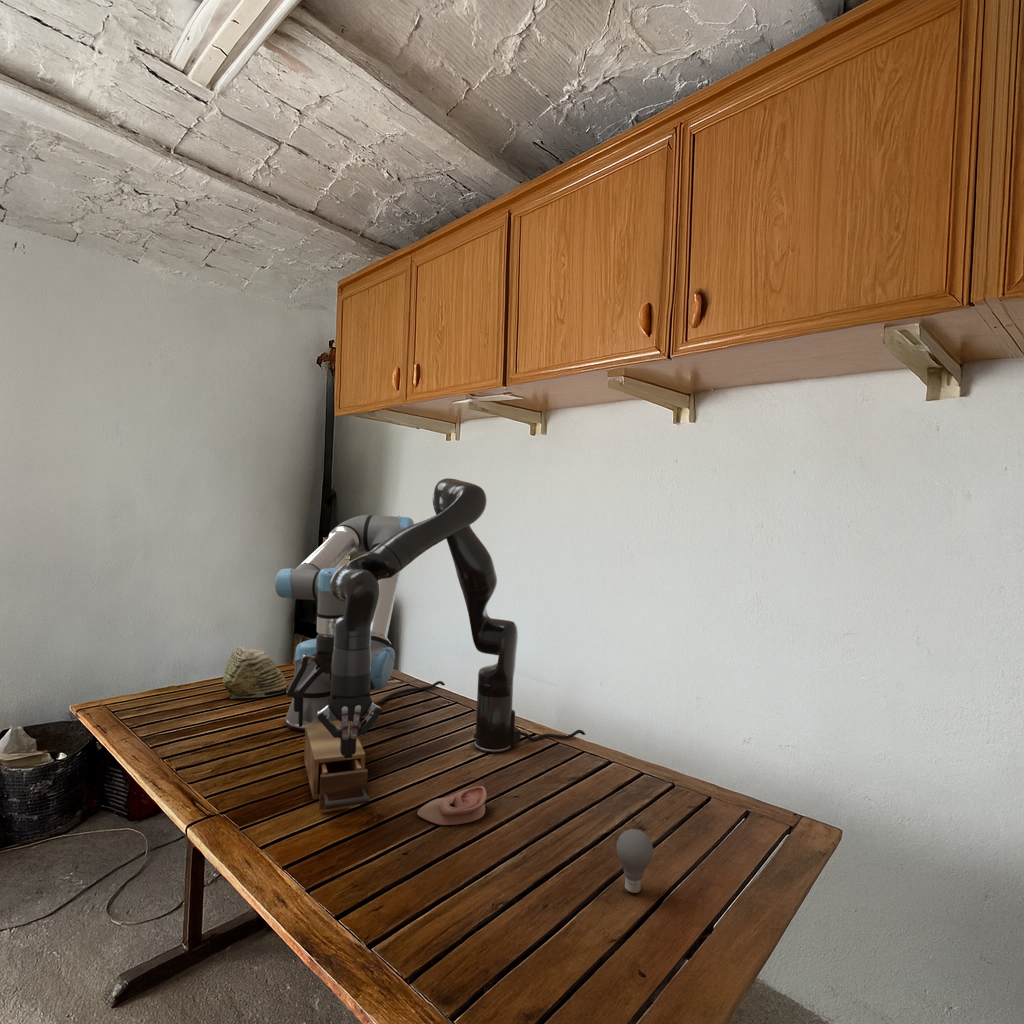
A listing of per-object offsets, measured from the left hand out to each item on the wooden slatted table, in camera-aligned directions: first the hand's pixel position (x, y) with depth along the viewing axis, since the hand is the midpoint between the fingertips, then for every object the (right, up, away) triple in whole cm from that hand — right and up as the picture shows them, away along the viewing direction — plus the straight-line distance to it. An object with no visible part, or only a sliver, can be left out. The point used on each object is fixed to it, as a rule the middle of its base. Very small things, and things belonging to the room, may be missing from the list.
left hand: (330, 721), depth 152 cm
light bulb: (+64, -13, -46) cm, 80 cm away
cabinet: (+3, -10, -7) cm, 12 cm away
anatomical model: (+31, -11, -22) cm, 40 cm away
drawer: (+6, -9, -16) cm, 20 cm away
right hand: (+11, +2, -27) cm, 29 cm away
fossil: (-37, -7, +46) cm, 60 cm away
